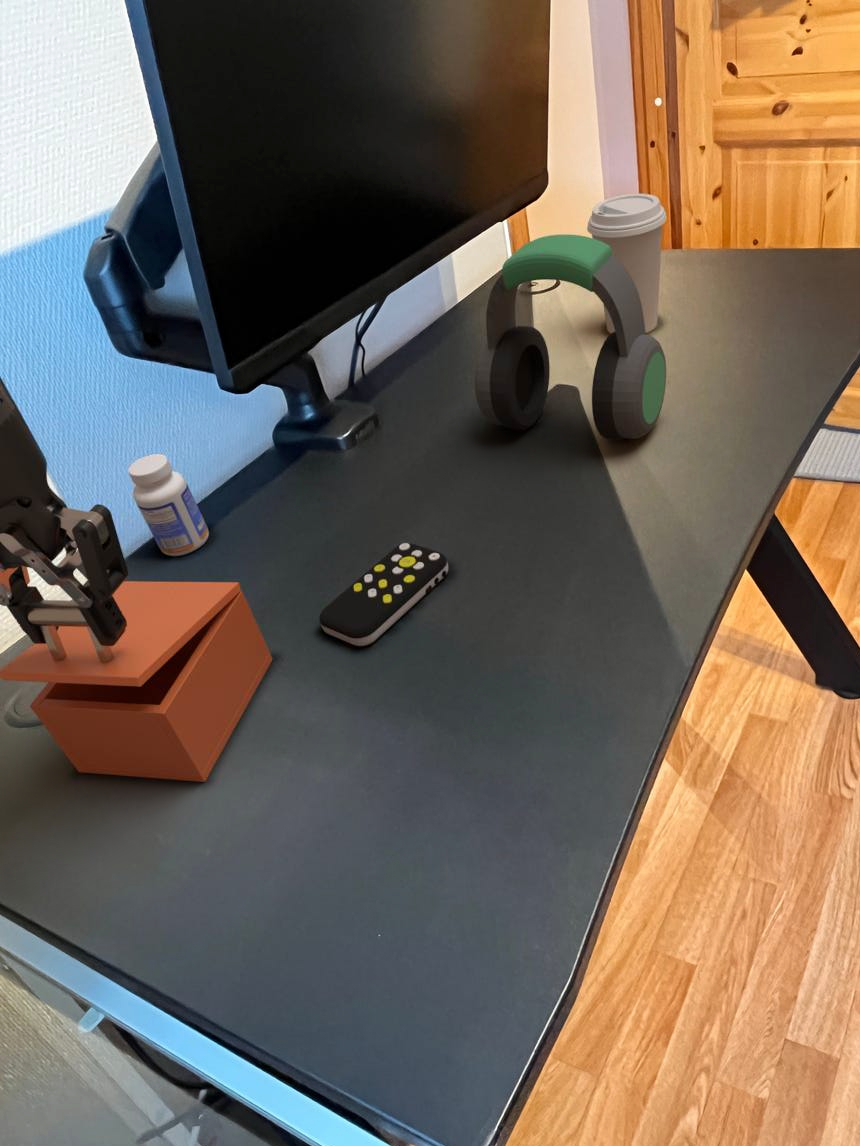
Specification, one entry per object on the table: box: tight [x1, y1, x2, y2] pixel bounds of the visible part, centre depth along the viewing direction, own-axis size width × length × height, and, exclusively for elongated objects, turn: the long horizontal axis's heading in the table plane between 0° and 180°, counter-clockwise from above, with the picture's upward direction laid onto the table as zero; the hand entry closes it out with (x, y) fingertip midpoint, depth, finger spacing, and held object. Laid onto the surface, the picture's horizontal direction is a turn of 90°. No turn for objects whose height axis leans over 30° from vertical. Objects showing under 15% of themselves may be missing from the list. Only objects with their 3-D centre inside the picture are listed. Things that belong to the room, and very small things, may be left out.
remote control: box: [318, 542, 449, 647], centre depth 79 cm, size 6×13×2 cm, turn 143°
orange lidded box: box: [29, 590, 274, 783], centre depth 71 cm, size 14×12×8 cm
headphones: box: [474, 234, 667, 441], centre depth 91 cm, size 19×11×20 cm, turn 63°
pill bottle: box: [127, 453, 210, 557], centre depth 90 cm, size 5×5×10 cm
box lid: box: [0, 580, 242, 687], centre depth 65 cm, size 14×12×5 cm
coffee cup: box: [586, 193, 668, 334], centre depth 109 cm, size 10×10×15 cm
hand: (80, 636), depth 62 cm, fingers closed on box lid, 5 cm apart
